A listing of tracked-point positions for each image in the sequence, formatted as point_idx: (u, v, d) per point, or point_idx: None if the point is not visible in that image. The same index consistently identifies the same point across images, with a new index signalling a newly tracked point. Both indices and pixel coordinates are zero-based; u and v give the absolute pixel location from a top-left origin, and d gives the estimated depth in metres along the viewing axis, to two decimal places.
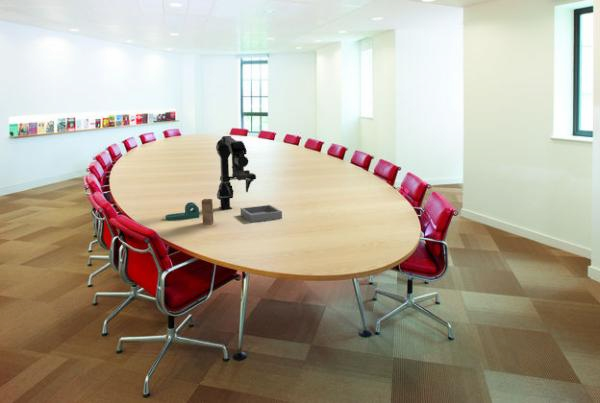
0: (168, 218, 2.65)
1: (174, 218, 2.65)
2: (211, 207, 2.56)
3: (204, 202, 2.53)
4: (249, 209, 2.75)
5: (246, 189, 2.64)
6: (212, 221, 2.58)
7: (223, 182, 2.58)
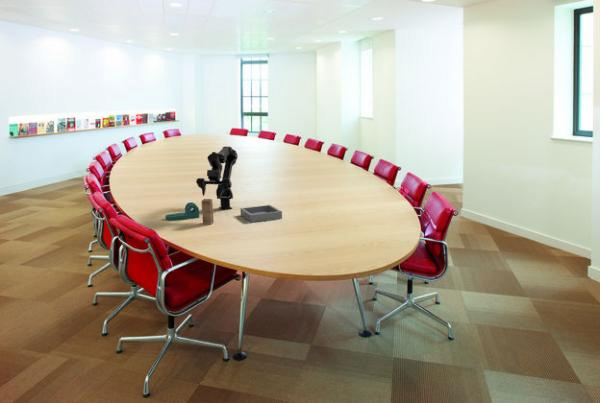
0: (168, 218, 2.65)
1: (174, 218, 2.65)
2: (211, 207, 2.56)
3: (204, 202, 2.53)
4: (249, 209, 2.75)
5: (219, 193, 2.63)
6: (212, 221, 2.58)
7: (199, 186, 2.67)
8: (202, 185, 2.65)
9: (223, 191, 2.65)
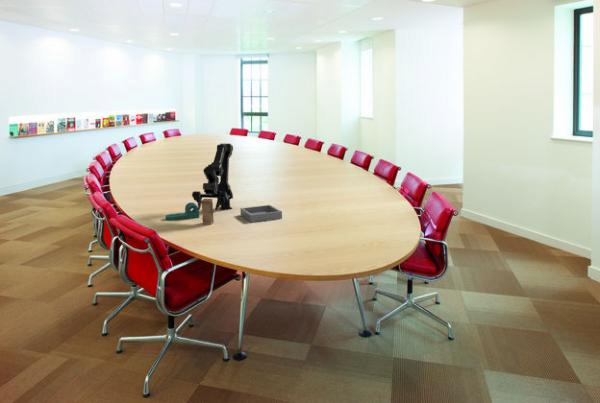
0: (168, 218, 2.65)
1: (174, 218, 2.65)
2: (211, 207, 2.56)
3: (204, 202, 2.53)
4: (249, 209, 2.75)
5: None
6: (212, 221, 2.58)
7: (195, 199, 2.61)
8: (198, 198, 2.58)
9: (219, 205, 2.58)
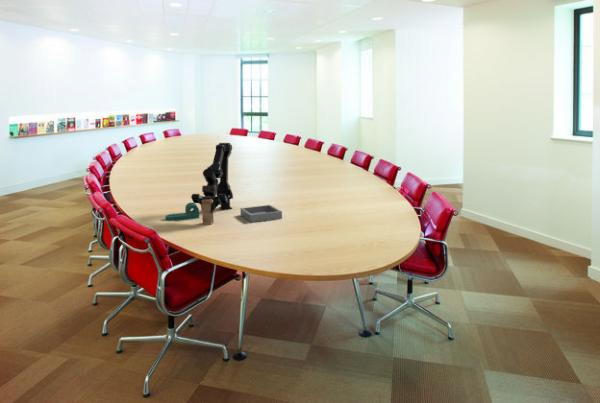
0: (168, 218, 2.65)
1: (174, 218, 2.65)
2: None
3: (204, 202, 2.53)
4: (249, 209, 2.75)
5: (211, 209, 2.55)
6: (212, 221, 2.58)
7: (198, 202, 2.60)
8: (201, 201, 2.57)
9: (215, 207, 2.57)
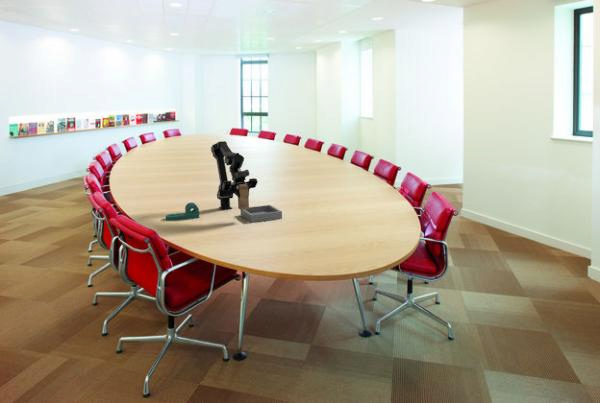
0: (168, 218, 2.65)
1: (174, 218, 2.65)
2: None
3: (243, 187, 2.55)
4: (249, 209, 2.75)
5: None
6: None
7: (230, 188, 2.59)
8: (236, 187, 2.57)
9: None
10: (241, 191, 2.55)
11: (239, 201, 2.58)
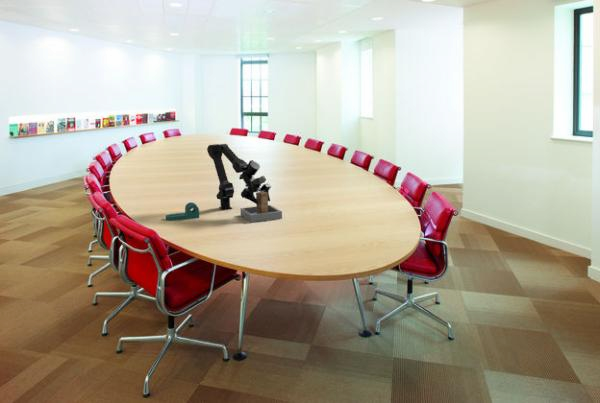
0: (168, 218, 2.65)
1: (174, 218, 2.65)
2: None
3: (263, 194, 2.64)
4: (249, 209, 2.75)
5: None
6: None
7: (246, 196, 2.63)
8: (252, 194, 2.63)
9: None
10: (262, 198, 2.64)
11: (259, 208, 2.66)
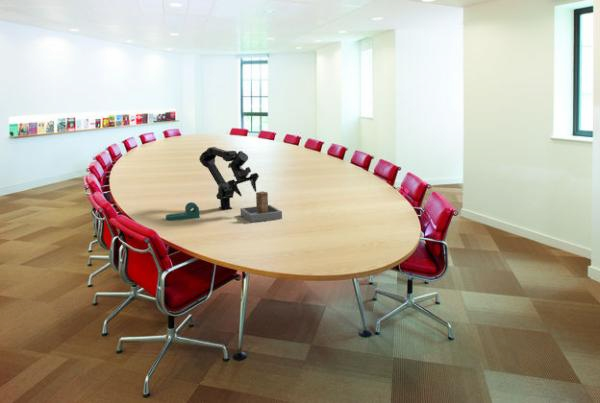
0: (168, 218, 2.65)
1: (174, 218, 2.65)
2: None
3: (263, 194, 2.64)
4: (249, 209, 2.75)
5: (254, 189, 2.74)
6: None
7: (230, 188, 2.70)
8: (236, 186, 2.69)
9: None
10: (262, 198, 2.64)
11: (259, 208, 2.66)
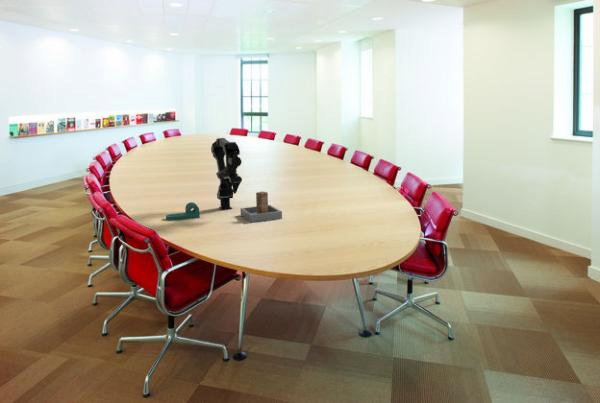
0: (168, 218, 2.65)
1: (174, 218, 2.65)
2: None
3: (263, 194, 2.64)
4: (249, 209, 2.75)
5: None
6: None
7: None
8: (226, 181, 2.77)
9: (237, 187, 2.68)
10: (262, 198, 2.64)
11: (259, 208, 2.66)
